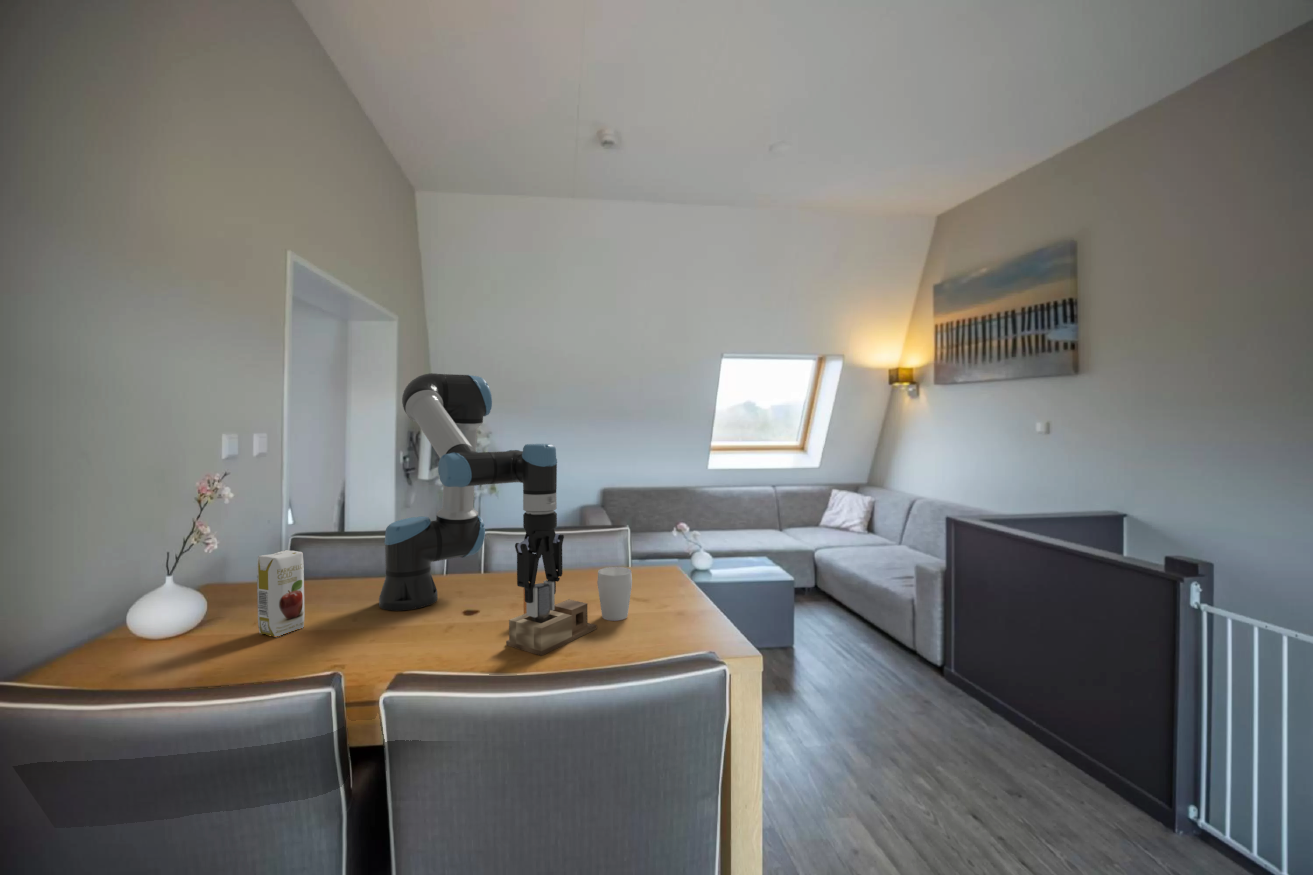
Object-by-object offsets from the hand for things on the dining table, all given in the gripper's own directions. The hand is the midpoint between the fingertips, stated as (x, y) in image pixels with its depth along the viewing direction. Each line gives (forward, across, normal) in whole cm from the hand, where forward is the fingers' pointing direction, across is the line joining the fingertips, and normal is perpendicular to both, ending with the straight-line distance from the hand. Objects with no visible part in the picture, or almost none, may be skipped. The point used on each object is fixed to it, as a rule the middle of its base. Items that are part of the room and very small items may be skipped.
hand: (540, 612), depth 130 cm
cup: (+7, +24, -4) cm, 25 cm away
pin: (+7, +10, +7) cm, 14 cm away
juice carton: (+7, -28, +58) cm, 65 cm away
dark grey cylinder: (+6, 0, 0) cm, 6 cm away
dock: (+7, +4, 0) cm, 9 cm away
